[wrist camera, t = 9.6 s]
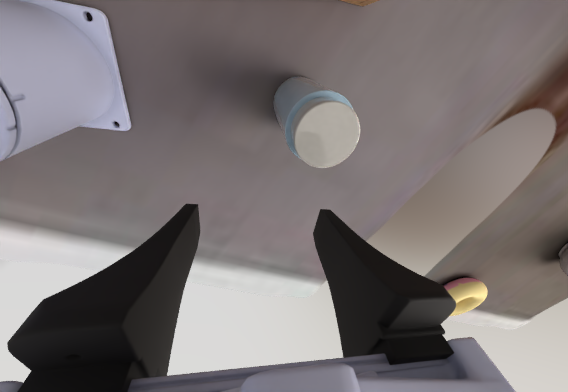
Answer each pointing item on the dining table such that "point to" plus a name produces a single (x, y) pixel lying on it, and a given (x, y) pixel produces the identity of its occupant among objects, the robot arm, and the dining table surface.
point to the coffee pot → (564, 259)
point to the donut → (466, 294)
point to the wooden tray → (360, 2)
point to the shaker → (316, 122)
